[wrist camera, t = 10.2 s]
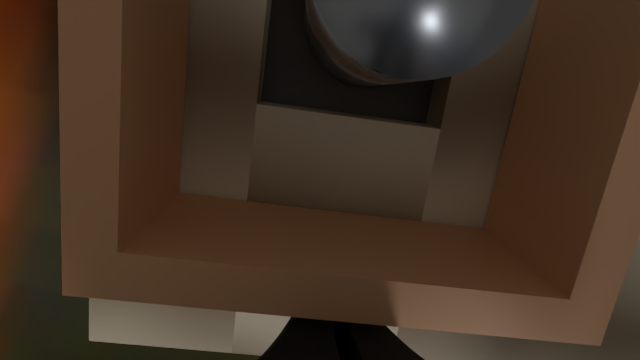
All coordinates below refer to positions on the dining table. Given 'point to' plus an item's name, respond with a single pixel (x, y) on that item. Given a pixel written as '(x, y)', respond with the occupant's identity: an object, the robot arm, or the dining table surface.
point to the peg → (407, 37)
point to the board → (341, 168)
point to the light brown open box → (348, 228)
